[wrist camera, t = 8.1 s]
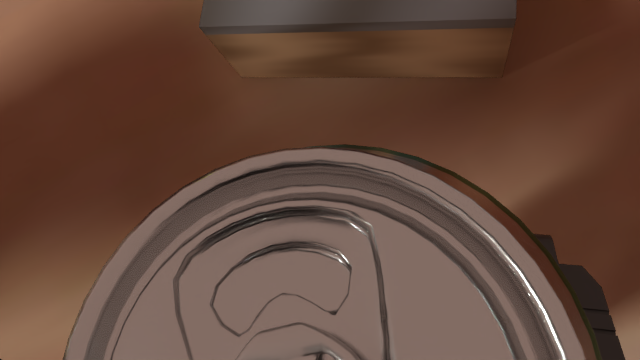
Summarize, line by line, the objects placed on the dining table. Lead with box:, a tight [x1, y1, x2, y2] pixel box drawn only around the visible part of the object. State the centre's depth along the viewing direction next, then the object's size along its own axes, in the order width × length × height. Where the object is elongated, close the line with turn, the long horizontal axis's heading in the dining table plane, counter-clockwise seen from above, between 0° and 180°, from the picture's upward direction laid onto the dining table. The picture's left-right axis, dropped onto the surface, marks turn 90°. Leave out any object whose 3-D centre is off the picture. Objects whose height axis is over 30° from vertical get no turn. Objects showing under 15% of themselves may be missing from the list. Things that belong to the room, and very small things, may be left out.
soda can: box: [63, 145, 602, 360], centre depth 10 cm, size 5×5×12 cm
